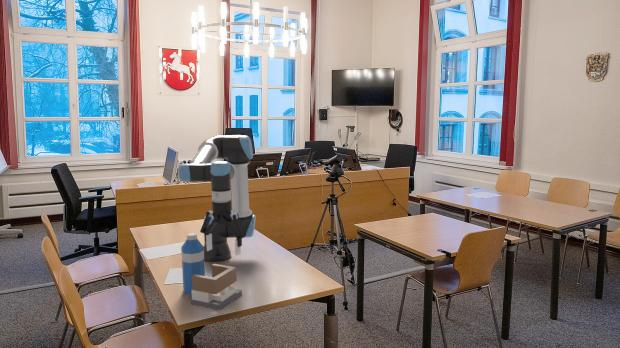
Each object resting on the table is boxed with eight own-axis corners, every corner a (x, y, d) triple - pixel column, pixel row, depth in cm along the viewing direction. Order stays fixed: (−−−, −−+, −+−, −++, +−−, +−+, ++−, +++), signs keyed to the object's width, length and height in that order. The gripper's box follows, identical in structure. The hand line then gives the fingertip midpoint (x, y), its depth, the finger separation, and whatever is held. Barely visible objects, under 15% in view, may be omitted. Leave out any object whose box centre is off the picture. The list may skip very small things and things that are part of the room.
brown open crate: (192, 290, 184) (191, 275, 183) (214, 277, 198) (214, 263, 197) (215, 294, 180) (215, 279, 179) (236, 280, 193) (236, 267, 192)
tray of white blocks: (191, 312, 186) (190, 289, 184) (214, 296, 200) (213, 276, 199) (220, 318, 180) (219, 295, 179) (242, 302, 195) (241, 280, 193)
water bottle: (185, 286, 203) (182, 231, 199) (206, 285, 204) (204, 231, 200) (181, 295, 194) (178, 237, 190) (203, 294, 195) (201, 237, 191)
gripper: (189, 199, 183) (192, 250, 187) (243, 205, 173) (245, 259, 177) (201, 196, 190) (203, 245, 193) (253, 201, 180) (255, 253, 184)
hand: (223, 252), depth 185 cm, fingers open, 13 cm apart
